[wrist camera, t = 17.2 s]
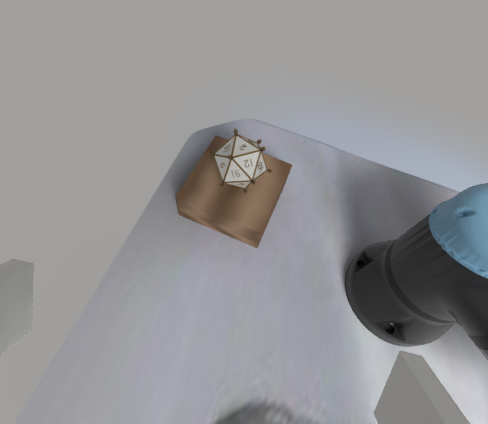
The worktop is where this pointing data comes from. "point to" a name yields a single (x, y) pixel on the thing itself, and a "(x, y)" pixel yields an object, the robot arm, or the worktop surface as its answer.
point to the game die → (240, 161)
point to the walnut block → (232, 198)
